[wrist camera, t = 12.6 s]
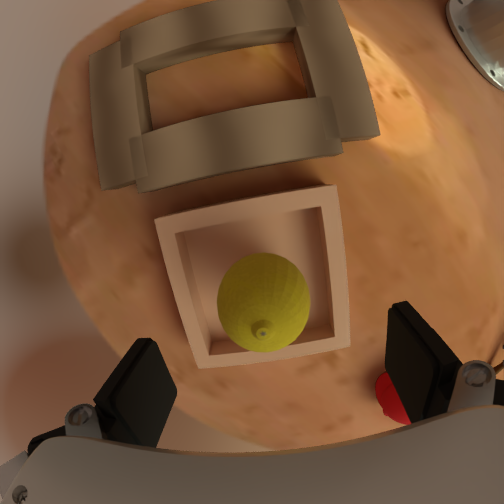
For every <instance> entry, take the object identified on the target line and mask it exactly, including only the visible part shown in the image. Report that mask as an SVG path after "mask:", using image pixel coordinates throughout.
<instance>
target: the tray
mask: <svg viewBox="0 0 504 504" xmlns="http://www.w3.org/2000/svg"><path fill="white" fill-rule="evenodd" d="M154 221H155V225H156V229H157V233H158V238H159V242H160V246H161V250H162V254H163V257H164V261H165V265H166V269H167V272H168V276H169V279H170V283H171V286H172V290H173V293H174V297H175V300H176V303H177V307H178V310H179V313H180V316H181V319H182V322H183V325H184V329H185V332H186V335H187V338H188V340H189V343H190V346H191V349H192V352H193V355H194V358H195V360H196V363H197V366H198V369H200V368H214V367H225V366H235V365H244V364H253V363H261V362H268V361H275V360H282V359H288V358H294V357H300V356H306V355H311V354H316V353H321V352H326V351H331V350H336V349H341V348H345V347H350V316H349V296H348V282H347V269H346V258H345V248H344V238H343V230H342V222H341V214H340V207H339V200H338V193H337V187H336V185H331V184H324V185H317V186H310V187H304V188H298V189H291V190H285V191H279V192H274V193H268V194H262V195H257V196H251V197H246V198H241V199H236V200H231V201H226V202H221V203H216V204H211V205H206V206H201V207H197V208H192V209H188V210H183V211H179V212H174V213H170V214H167V215H164V216H161V217H159V218H156V219H154ZM263 252H265V253H273V254H277V255H279V256H282V257H284V258H286V259H287V260H289V261H290V262H292V263H293V264H294V265H295V266H296V267H297V268H298V269H299V271H300V272H301V273H302V274H303V276H304V278H305V281H306V283H307V285H308V288H309V294H310V310H309V316H308V320H307V322H306V325H305V327H304V329H303V331H302V332H301V334H300V335H299V336H298V337H297V338H296V340H295V341H293V342H292V343H290V344H289V345H288V346H286V347H284V348H282V349H280V350H277V351H273V352H268V353H267V352H254V351H250V350H247V349H245V348H243V347H241V346H239V345H238V344H236V343H235V342H234V341H232V340H231V339H230V337H229V336H228V335H227V334H226V332H225V331H224V329H223V327H222V325H221V322H220V320H219V317H218V310H217V295H218V289H219V285H220V283H221V281H222V279H223V277H224V275H225V273H226V272H227V271H228V270H229V269H230V267H231V266H232V265H233V264H234V263H236V262H237V261H239V260H240V259H241V258H243V257H245V256H248V255H251V254H254V253H263Z"/></svg>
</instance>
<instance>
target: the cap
mask: <svg viewBox="0 0 504 504" xmlns="http://www.w3.org/2000/svg"><path fill="white" fill-rule="evenodd" d="M375 391H376V396H377V399H378V402H379V404H380V405H381V407H382V408H383V413H384V415H385V416H389V417H390V418H391V419H393V420H394V421H396V422H399V423H402V424H406V425H409V424H411V422H410V420H409V418H408V415H407V413H406V411H405V409H404V407H403V404H402V402H401V400H400V398H399V396H398V394H397V392H396V389H395V387H394V385H393V383H392V381H391V379H390V377H389V375H388V373H387V372H386V373H383V374H381V375H380V376H379V377H378V379H377V381H376V386H375Z"/></svg>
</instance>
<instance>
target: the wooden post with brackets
mask: <svg viewBox="0 0 504 504" xmlns="http://www.w3.org/2000/svg"><path fill="white" fill-rule="evenodd" d="M503 349H504V346H503ZM503 368H504V360H503V362H502V363H500V364H499V365H497V366H496V367H494V368H493V369H494V371H495V374H498V373H499V372H500V371H501V370H502V369H503Z"/></svg>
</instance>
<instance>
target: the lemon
mask: <svg viewBox="0 0 504 504" xmlns="http://www.w3.org/2000/svg"><path fill="white" fill-rule="evenodd" d="M217 310H218V317H219V320H220V322H221V325H222V327H223V329H224V331H225V332H226V334H227V335H228V336H229V337H230V339H231V340H232V341H234V342H235V343H236V344H238V345H239V346H241V347H243V348H245V349H247V350H250V351H254V352H267V353H268V352H273V351H277V350H280V349H282V348H284V347H286V346H288V345H289V344H290V343H292V342H293V341H295V340H296V338H297V337H298V336H299V335H300V334H301V332H302V331H303V329H304V327H305V325H306V322H307V320H308V316H309V310H310V294H309V288H308V285H307V283H306V281H305V278H304V276H303V274H302V273H301V272H300V271H299V269H298V268H297V267H296V266H295V265H294V264H293V263H292V262H290V261H289V260H287V259H286V258H284V257H282V256H279V255H277V254H273V253H265V252H263V253H254V254H251V255H248V256H245V257H243V258H241V259H240V260H239V261H237V262H236V263H234V264H233V265H232V266H231V267H230V269H229V270H228V271H227V272H226V273H225V275H224V277H223V279H222V281H221V283H220V285H219V289H218V295H217Z"/></svg>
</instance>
